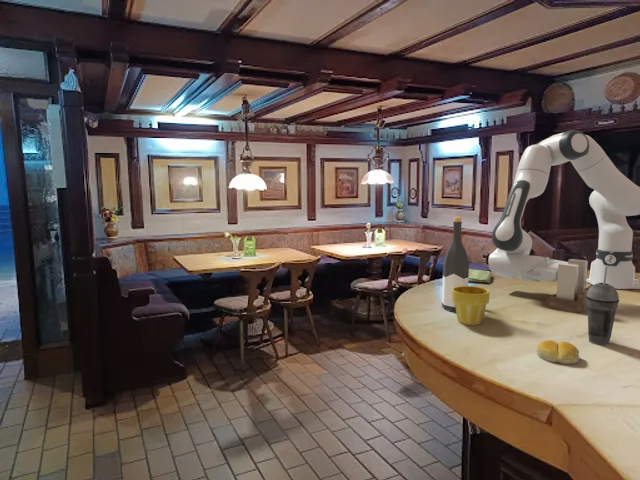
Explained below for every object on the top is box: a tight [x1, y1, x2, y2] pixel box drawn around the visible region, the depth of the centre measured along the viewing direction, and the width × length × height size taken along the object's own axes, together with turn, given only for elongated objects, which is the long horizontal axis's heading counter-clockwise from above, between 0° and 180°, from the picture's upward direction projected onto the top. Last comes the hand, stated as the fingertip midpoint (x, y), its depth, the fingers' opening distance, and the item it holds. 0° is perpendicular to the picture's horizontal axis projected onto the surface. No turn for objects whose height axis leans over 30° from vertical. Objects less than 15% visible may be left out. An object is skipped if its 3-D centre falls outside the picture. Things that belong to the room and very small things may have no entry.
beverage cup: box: [586, 267, 620, 346], centre depth 115 cm, size 7×7×20 cm
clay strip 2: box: [567, 258, 589, 293], centre depth 148 cm, size 3×5×14 cm, turn 46°
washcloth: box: [468, 268, 492, 284], centre depth 191 cm, size 13×18×3 cm
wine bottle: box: [441, 216, 470, 312], centre depth 145 cm, size 8×8×30 cm
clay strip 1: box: [555, 263, 579, 301], centre depth 140 cm, size 3×5×14 cm, turn 46°
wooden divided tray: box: [545, 284, 593, 315], centre depth 145 cm, size 16×10×8 cm, turn 136°
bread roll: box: [536, 339, 580, 365], centre depth 106 cm, size 8×9×4 cm
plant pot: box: [452, 285, 490, 326], centre depth 133 cm, size 10×10×10 cm
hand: (580, 274), depth 147 cm, fingers open, 4 cm apart
